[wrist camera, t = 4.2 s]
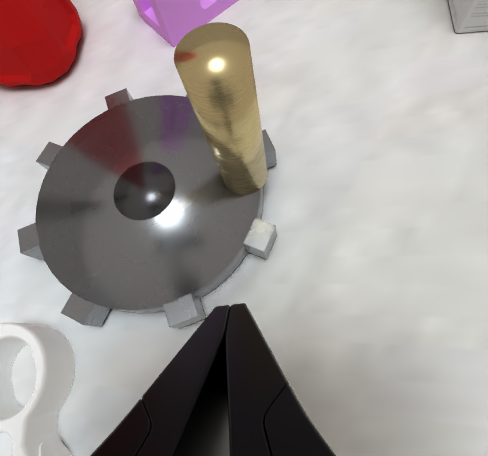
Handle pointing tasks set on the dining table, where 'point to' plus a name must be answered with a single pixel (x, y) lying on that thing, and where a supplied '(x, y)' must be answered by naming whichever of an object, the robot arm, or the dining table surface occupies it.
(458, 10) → the supplement box
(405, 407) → the dining table surface
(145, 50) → the dining table surface
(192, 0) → the bracket
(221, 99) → the sprocket
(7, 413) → the white brass knuckles
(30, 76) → the water bottle
